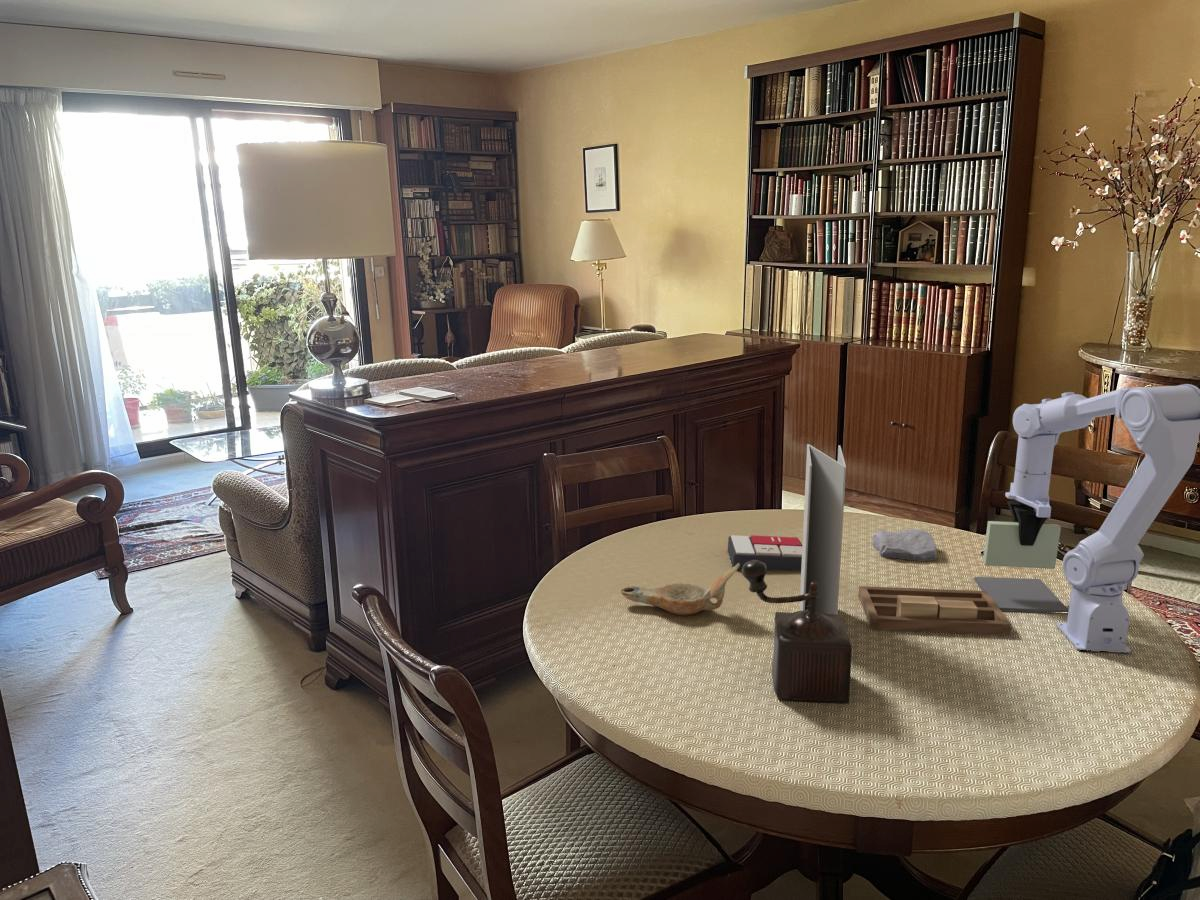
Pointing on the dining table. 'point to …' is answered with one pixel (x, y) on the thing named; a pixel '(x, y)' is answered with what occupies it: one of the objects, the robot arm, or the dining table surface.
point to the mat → (1020, 594)
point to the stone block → (905, 544)
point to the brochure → (823, 528)
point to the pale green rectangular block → (1020, 546)
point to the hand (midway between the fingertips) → (1024, 542)
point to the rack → (883, 617)
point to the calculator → (766, 551)
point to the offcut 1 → (917, 606)
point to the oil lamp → (682, 595)
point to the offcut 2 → (957, 609)
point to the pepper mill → (806, 647)
